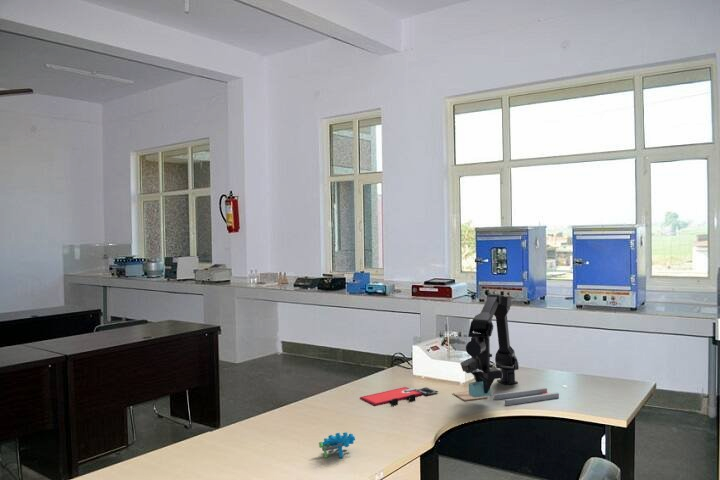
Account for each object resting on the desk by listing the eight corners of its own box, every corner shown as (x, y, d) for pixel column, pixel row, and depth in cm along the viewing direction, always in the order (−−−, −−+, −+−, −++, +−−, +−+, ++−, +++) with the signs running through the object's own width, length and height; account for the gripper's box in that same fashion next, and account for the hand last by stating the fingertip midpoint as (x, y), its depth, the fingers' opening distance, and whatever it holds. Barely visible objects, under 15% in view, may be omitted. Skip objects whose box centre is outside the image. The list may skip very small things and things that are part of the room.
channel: (494, 399, 215) (494, 394, 215) (545, 391, 223) (545, 387, 223) (506, 405, 208) (506, 400, 207) (558, 397, 215) (558, 393, 215)
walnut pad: (452, 394, 223) (452, 393, 223) (474, 391, 226) (474, 390, 226) (464, 401, 213) (464, 400, 213) (487, 398, 217) (487, 397, 217)
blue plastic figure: (355, 441, 171) (353, 427, 164) (358, 460, 167) (356, 446, 160) (320, 448, 170) (317, 434, 163) (322, 467, 166) (319, 454, 159)
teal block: (468, 394, 209) (468, 382, 209) (485, 392, 212) (484, 380, 211) (474, 397, 206) (473, 385, 205) (490, 395, 208) (490, 383, 208)
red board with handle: (442, 395, 223) (419, 387, 236) (441, 388, 223) (419, 380, 236) (380, 410, 207) (360, 400, 220) (380, 402, 207) (359, 393, 220)
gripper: (451, 348, 215) (452, 387, 215) (476, 358, 197) (477, 401, 198) (476, 345, 218) (477, 384, 219) (502, 355, 201) (503, 397, 201)
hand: (482, 391), depth 209 cm, fingers closed on teal block, 4 cm apart
